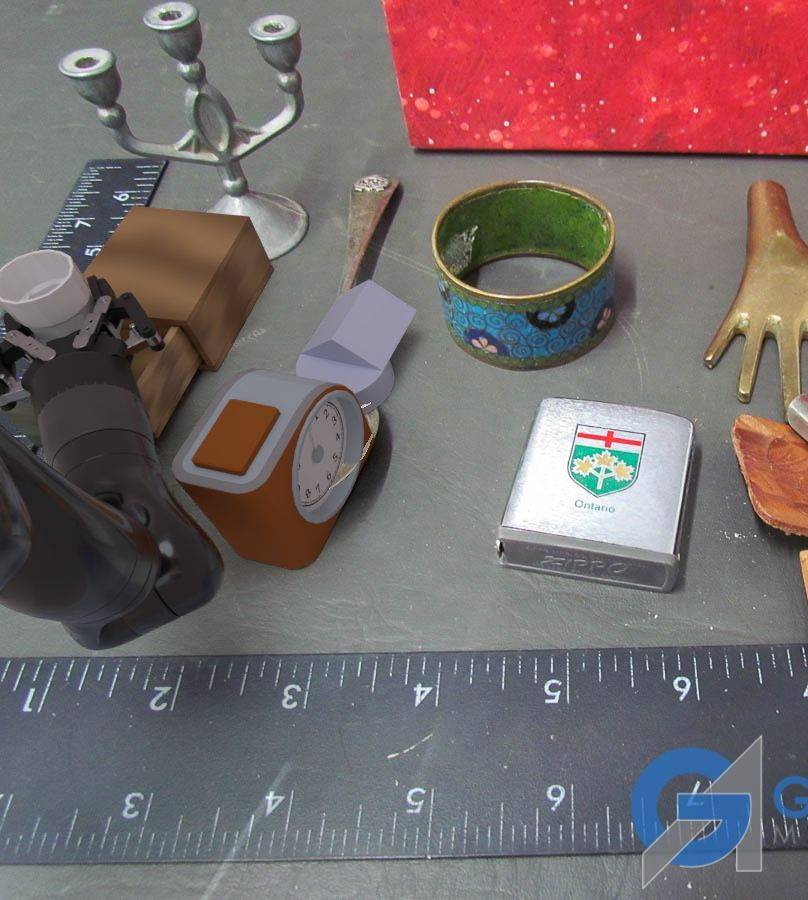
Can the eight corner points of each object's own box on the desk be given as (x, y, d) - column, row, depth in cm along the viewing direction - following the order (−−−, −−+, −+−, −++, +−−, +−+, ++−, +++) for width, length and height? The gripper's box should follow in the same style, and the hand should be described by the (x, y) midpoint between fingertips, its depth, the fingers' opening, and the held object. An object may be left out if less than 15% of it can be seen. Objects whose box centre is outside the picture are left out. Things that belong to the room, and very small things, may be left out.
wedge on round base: (347, 317, 90) (290, 408, 83) (329, 271, 84) (266, 364, 77) (423, 332, 88) (372, 426, 81) (410, 287, 83) (353, 383, 76)
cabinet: (217, 371, 86) (185, 321, 80) (98, 358, 87) (57, 307, 81) (274, 268, 95) (249, 216, 88) (164, 258, 96) (132, 205, 90)
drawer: (148, 472, 78) (117, 436, 73) (29, 457, 79) (-9, 421, 74) (217, 349, 87) (194, 310, 82) (109, 337, 88) (80, 298, 83)
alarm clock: (313, 575, 72) (256, 494, 61) (226, 555, 73) (155, 472, 62) (379, 441, 80) (339, 348, 69) (299, 425, 82) (248, 331, 70)
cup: (101, 397, 76) (31, 312, 67) (48, 377, 77) (-28, 291, 68) (151, 348, 79) (90, 260, 70) (98, 329, 81) (32, 242, 72)
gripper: (162, 354, 65) (117, 235, 73) (-33, 432, 61) (-57, 297, 69) (203, 413, 71) (157, 296, 79) (28, 487, 67) (-1, 356, 75)
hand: (57, 297), depth 74 cm, fingers closed on cup, 6 cm apart
